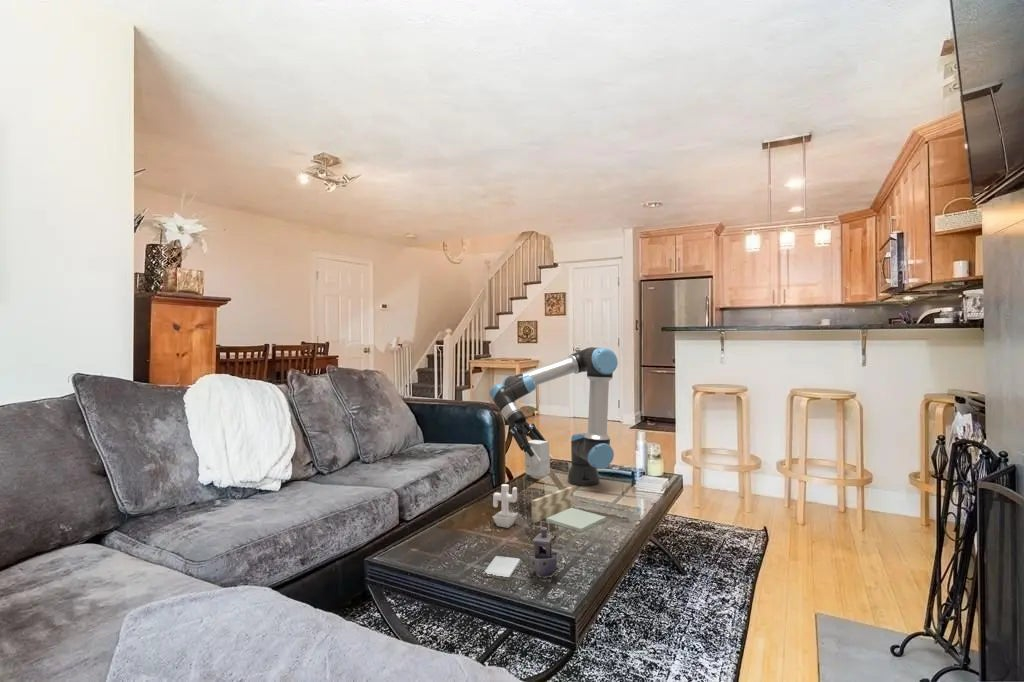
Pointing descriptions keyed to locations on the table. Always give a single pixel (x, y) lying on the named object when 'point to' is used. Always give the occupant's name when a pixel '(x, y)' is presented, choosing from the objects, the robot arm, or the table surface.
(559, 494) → the wooden screen
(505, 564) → the hard drive
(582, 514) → the display plate
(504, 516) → the figurine
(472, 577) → the table surface
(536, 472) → the small box
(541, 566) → the toy boat
